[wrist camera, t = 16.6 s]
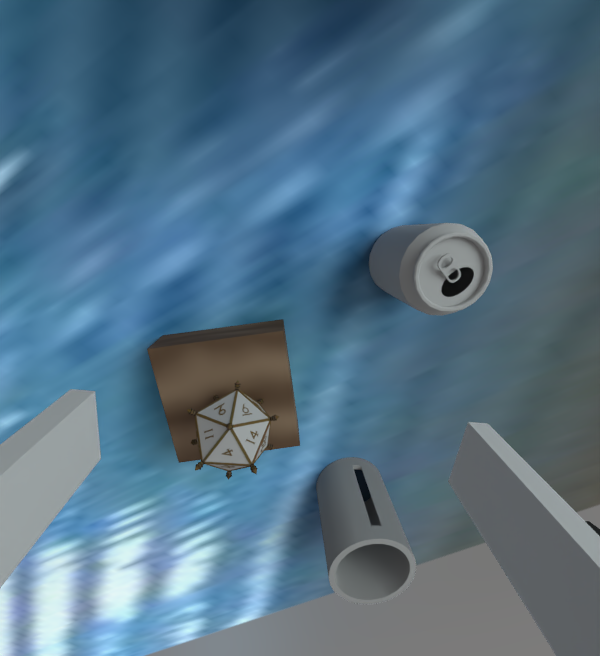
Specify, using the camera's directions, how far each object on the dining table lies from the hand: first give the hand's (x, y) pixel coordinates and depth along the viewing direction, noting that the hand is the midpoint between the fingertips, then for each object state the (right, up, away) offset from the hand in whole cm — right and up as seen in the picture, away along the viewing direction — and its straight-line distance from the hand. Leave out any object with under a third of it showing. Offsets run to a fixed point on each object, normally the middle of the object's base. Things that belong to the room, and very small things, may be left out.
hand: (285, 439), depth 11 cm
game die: (-9, -3, +23) cm, 25 cm away
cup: (+7, -18, +33) cm, 38 cm away
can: (+12, +12, +25) cm, 30 cm away
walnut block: (-8, -2, +28) cm, 29 cm away
